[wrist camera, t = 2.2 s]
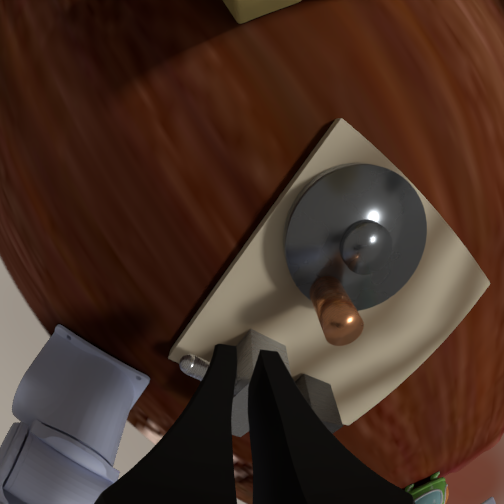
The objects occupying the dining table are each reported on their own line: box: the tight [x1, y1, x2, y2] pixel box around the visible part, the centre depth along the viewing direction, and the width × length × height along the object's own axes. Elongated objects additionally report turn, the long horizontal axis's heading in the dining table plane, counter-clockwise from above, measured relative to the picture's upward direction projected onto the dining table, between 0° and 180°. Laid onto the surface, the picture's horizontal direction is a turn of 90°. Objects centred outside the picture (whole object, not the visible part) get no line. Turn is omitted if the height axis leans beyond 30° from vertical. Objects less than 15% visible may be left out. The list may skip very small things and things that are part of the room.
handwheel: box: [283, 162, 427, 346], centre depth 14 cm, size 9×9×5 cm
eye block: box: [231, 329, 291, 437], centre depth 18 cm, size 3×6×5 cm, turn 146°
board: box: [168, 118, 490, 425], centre depth 20 cm, size 20×20×1 cm
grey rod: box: [179, 354, 343, 433], centre depth 19 cm, size 12×3×4 cm, turn 56°
